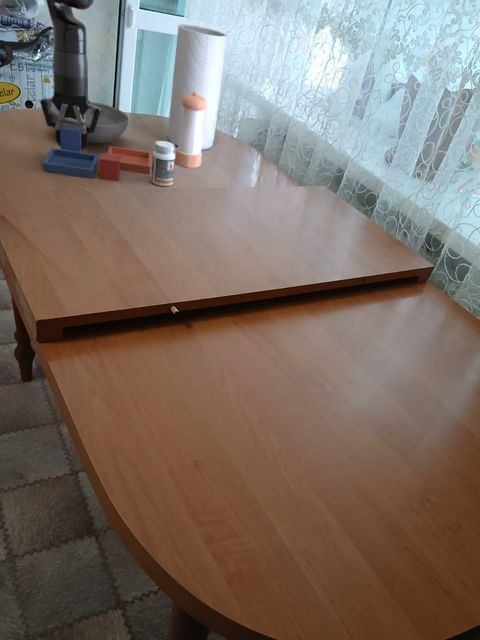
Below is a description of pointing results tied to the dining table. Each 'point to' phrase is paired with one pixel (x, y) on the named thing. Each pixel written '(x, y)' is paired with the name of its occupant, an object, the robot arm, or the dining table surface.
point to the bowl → (100, 123)
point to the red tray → (132, 159)
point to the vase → (197, 77)
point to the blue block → (70, 137)
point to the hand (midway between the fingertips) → (71, 146)
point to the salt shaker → (191, 131)
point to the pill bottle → (163, 164)
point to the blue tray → (71, 163)
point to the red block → (109, 167)
